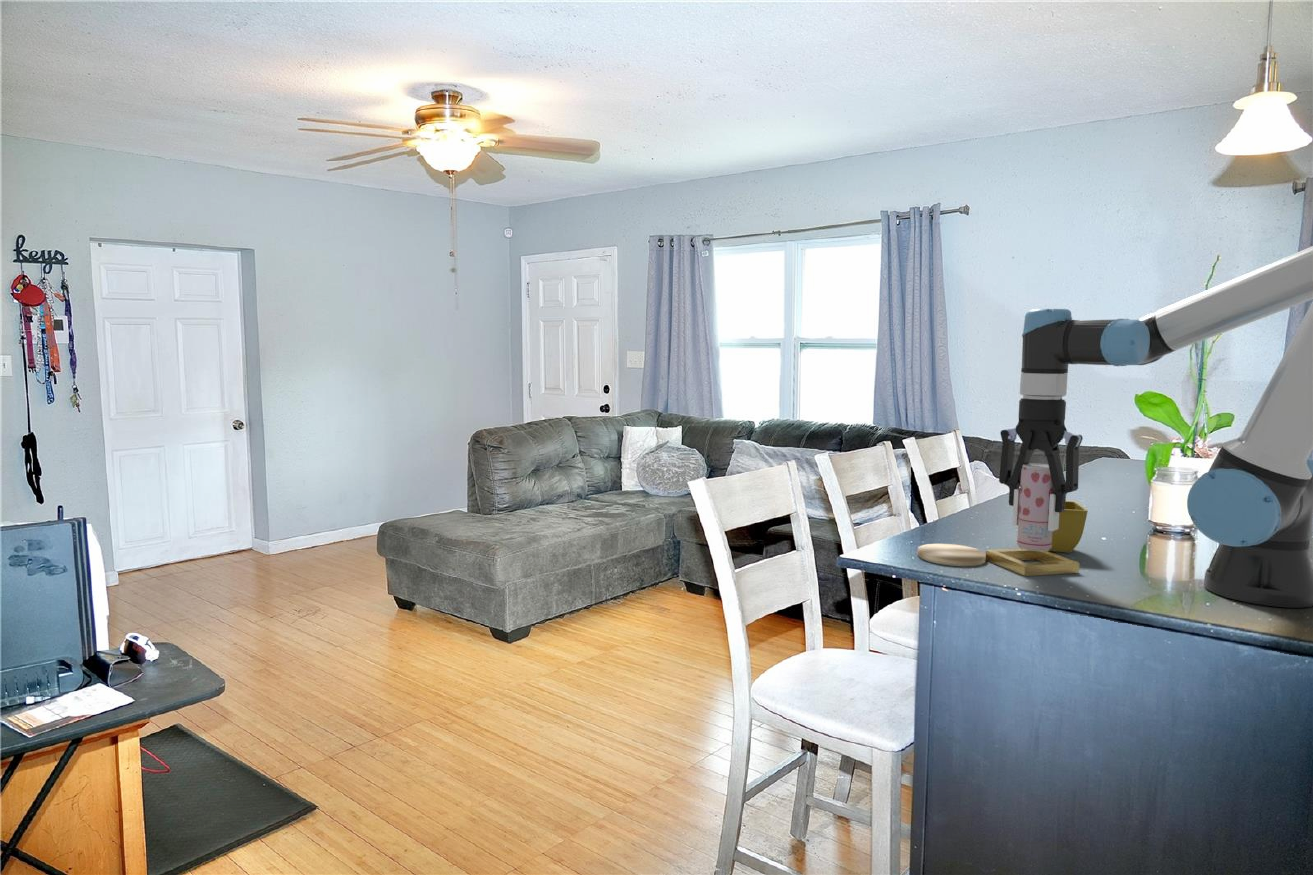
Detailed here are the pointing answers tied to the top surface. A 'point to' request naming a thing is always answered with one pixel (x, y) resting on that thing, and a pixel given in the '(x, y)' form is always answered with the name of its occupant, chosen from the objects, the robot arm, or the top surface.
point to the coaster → (951, 554)
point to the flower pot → (1069, 528)
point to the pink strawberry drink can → (1034, 507)
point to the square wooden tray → (1046, 566)
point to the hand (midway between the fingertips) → (1035, 526)
